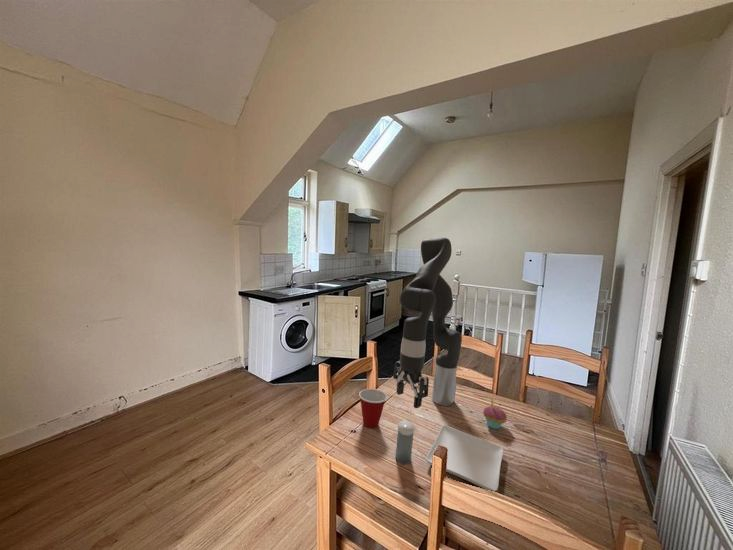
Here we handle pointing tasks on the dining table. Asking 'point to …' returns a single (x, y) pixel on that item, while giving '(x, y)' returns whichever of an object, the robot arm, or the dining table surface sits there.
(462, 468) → the salad plate
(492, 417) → the cupcake
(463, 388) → the dining table surface
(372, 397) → the plastic cup
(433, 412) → the dining table surface
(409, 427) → the shaker
